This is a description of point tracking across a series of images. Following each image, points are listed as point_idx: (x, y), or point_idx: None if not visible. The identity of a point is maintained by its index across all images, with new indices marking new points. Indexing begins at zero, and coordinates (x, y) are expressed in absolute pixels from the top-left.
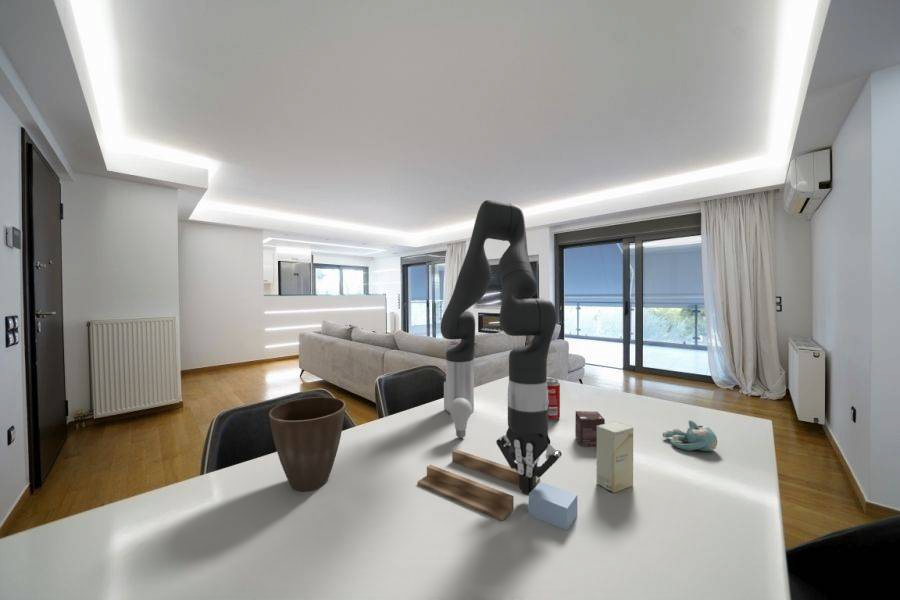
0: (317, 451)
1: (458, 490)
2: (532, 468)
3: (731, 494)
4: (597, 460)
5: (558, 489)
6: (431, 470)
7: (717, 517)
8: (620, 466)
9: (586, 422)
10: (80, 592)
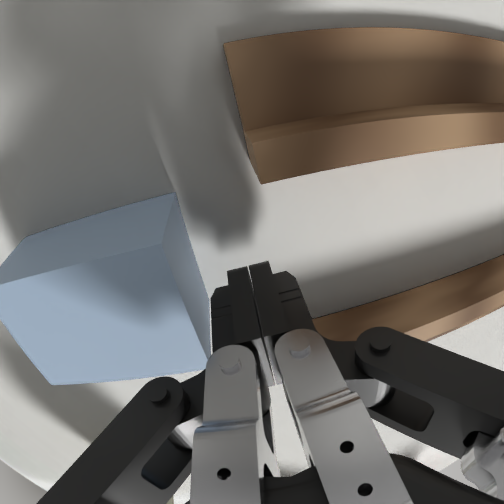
0: None
1: (495, 90)
2: (205, 414)
3: (52, 481)
4: (169, 501)
5: (111, 373)
6: None
7: (8, 444)
8: None
9: None
10: None
